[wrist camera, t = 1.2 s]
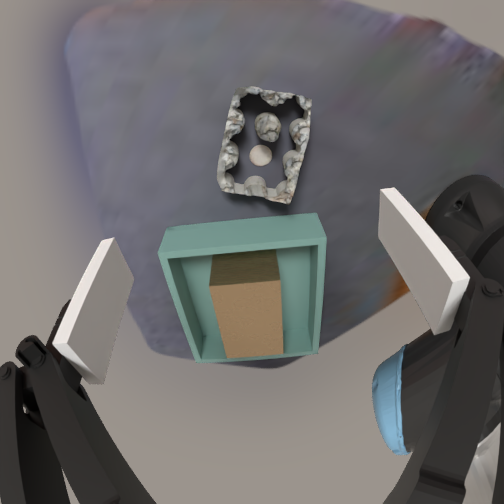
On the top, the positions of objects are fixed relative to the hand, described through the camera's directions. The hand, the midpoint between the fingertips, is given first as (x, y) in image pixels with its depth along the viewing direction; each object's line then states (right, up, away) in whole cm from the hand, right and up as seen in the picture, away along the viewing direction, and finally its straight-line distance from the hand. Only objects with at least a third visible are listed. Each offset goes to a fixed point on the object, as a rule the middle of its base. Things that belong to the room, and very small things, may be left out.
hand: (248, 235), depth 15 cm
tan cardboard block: (0, -5, +24) cm, 25 cm away
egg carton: (+1, +10, +15) cm, 18 cm away
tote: (0, -5, +25) cm, 25 cm away
